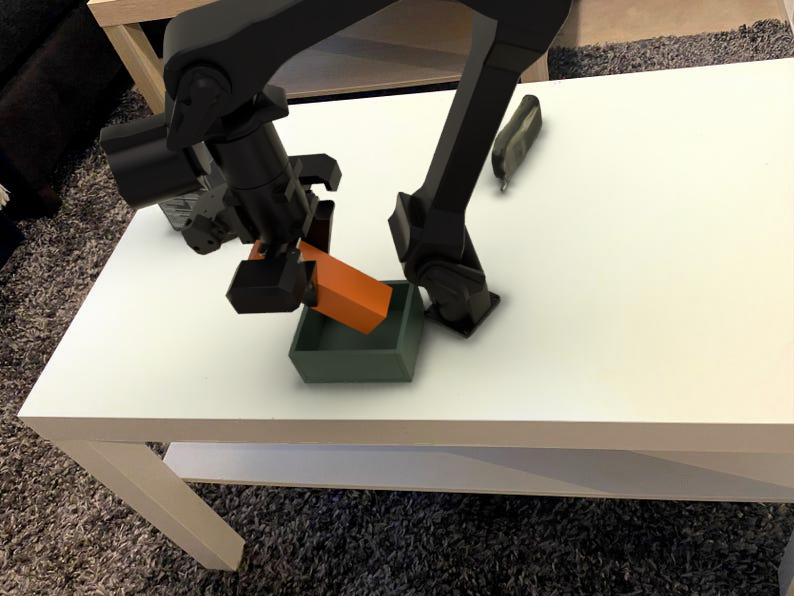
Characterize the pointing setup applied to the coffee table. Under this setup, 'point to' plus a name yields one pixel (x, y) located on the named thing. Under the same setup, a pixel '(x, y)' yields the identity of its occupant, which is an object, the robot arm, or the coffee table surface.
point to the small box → (190, 197)
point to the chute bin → (361, 343)
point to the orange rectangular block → (344, 290)
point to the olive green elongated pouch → (516, 139)
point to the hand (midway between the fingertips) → (318, 289)
